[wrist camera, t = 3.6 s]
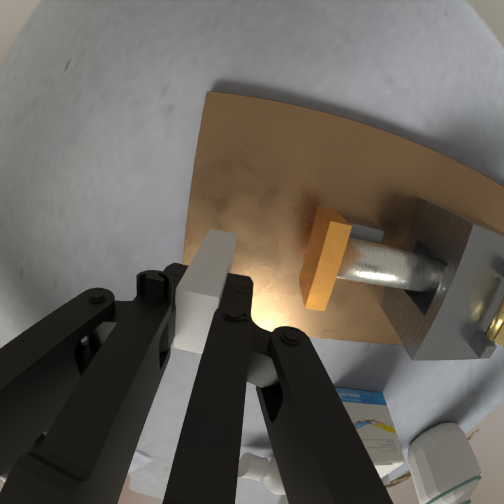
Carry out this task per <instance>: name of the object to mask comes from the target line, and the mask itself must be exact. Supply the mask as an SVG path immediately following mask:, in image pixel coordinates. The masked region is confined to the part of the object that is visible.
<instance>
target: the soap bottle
mask: <svg viewBox="0 0 504 504" xmlns="http://www.w3.org/2000/svg"><path fill="white" fill-rule="evenodd" d="M408 465H409V469H410V472H411V475H412V478H413V481H414V485H415V489H416V492H417V496H418V499H419V503H420V504H469V503H470V502H471V500H470V496H471V494H472V492H473V491H474V490H475V488H476V487H477V485H478V482H479V480H480V479H481V476H480V474H481V469H480V467H479V464H478V462H477V460H476V457H475V455H474V453H473V451H472V448H471V446H470V444H469V442H468V440H467V438H466V436H465V433H464V432H463V431H462V429H461V428H460V427H459V426H458V425H457V424H455V423H441V424H438V425H435V426H433V427H431V428H429V429H428V430H426V431H425V432H423V433H421V434H420V435H419V436H418V437H417V438H416V439H415V440H414V441H413V443H412V444H411V446H410V447H409V449H408Z"/></svg>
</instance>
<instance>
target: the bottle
mask: <svg viewBox="0 0 504 504" xmlns="http://www.w3.org/2000/svg"><path fill="white" fill-rule="evenodd" d="M238 477H242V478H249V479H255V480H256V481H261V480H262V479H263V482H264V486H265V487H266V488H267V489H269V490H270V491H271V492H273V493H274V494H278V495H286V493H285V490H284V487H283V483H282V480H281V477H280V473H279V470H278V466H277V463H276V460H275V457H273V458H272V459H271V460H270V461H268V459H267V458H266V457H264V458H261V457H259V456H256V455H254V454H251V453H249V452H247V453H245V454H243V456H242V457H241V458H240V460H239V467H238ZM381 480H382V482H383V484H384V486H385V484H386V483H387V482H388V481H389V476H388V474H387V475H385V476H384V477H382V478H381Z"/></svg>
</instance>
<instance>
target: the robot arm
mask: <svg viewBox="0 0 504 504" xmlns="http://www.w3.org/2000/svg"><path fill="white" fill-rule="evenodd" d="M237 235H238V234H236V233H230V232H225V231H219V230H214V229H210V231H209V232H208V234H207V236H206V237H205V239H204V241H203V242H202V244H201V246H200V248H199V249H198V251H197V253H196V254H195V256H194V258H193V260H192V261H191V263H190V265H189V266H188V265H183V264H178V263H173V264H171V265H169V266H167V267H166V268H165V269H164V271H163V272H162V271H157V270H148V271H144V272H140V273H139V274H138V275H136V276H137V296H136V297H135V299H134V300H133V301H115V296H114V294H113V293H112V292H111V291H110V290H108V289H104V288H92V289H89V290H86V291H84V292H83V293H81V294H80V295H78V296H77V297H75V298H73V299H72V300H70V301H69V302H67V303H66V304H64V305H63V306H61V307H60V308H58V309H57V310H55V311H54V312H52V313H51V314H49V315H48V316H46V317H45V318H43V319H42V320H40V321H39V322H37V323H36V324H34V325H33V326H31V327H30V328H29V329H27V330H26V331H24V332H23V333H21V334H20V335H19V336H17V337H16V338H14V339H13V340H11V341H10V342H9V343H7V344H6V345H5V346H3V347H2V348H0V481H2V482H3V483H4V486H3V488H2V490H1V492H0V504H117V503H118V500H119V497H120V494H121V491H122V487H123V485H124V482H125V479H126V476H127V473H128V470H129V467H130V464H131V461H132V458H133V455H134V452H135V449H136V447H137V444H138V441H139V438H140V435H141V432H142V430H143V427H144V424H145V421H146V419H147V416H148V413H149V411H150V408H151V405H152V402H153V400H154V397H155V394H156V392H157V389H158V387H159V384H160V381H161V379H162V376H163V374H164V371H165V368H166V366H167V363H168V361H169V358H170V353H171V344H172V342H173V339H174V348H177V349H181V350H186V351H190V352H195V353H200V354H202V357H201V360H200V364H199V367H198V371H197V375H196V378H195V382H194V385H193V389H192V393H191V396H190V400H189V404H188V407H187V411H186V415H185V419H184V422H183V426H182V430H181V434H180V437H179V441H178V445H177V449H176V453H175V457H174V460H173V464H172V468H171V472H170V476H169V480H168V484H167V488H166V492H165V496H164V500H163V503H162V504H235V497H236V487H237V477H238V467H239V457H240V446H241V436H242V426H243V415H244V404H245V393H246V383H247V382H249V383H252V384H254V385H256V391H257V395H258V398H259V402H260V406H261V410H262V413H263V417H264V421H265V424H266V428H267V431H268V435H269V439H270V442H271V446H272V449H273V453H274V456H275V460H276V463H277V466H278V470H279V473H280V477H281V480H282V483H283V487H284V490H285V493H286V497H287V500H288V503H289V504H393V502H392V500H391V498H390V496H389V494H388V492H387V490H386V488H385V486H384V484H383V482H382V480H381V478H380V476H379V474H378V472H377V470H376V468H375V466H374V464H373V462H372V460H371V458H370V456H369V454H368V452H367V450H366V448H365V446H364V444H363V442H362V440H361V438H360V436H359V434H358V432H357V430H356V428H355V426H354V424H353V422H352V420H351V418H350V416H349V414H348V412H347V410H346V408H345V407H344V405H343V403H342V401H341V399H340V397H339V395H338V393H337V391H336V389H335V387H334V385H333V383H332V381H331V379H330V377H329V375H328V373H327V372H326V370H325V368H324V366H323V364H322V362H321V360H320V358H319V356H318V354H317V352H316V350H315V348H314V347H313V345H312V343H311V341H310V339H309V337H308V336H307V335H306V333H304V332H303V331H301V330H300V329H298V328H295V327H291V326H279V327H277V328H275V329H274V330H273V331H272V332H270V331H268V330H265V329H263V328H261V327H259V326H258V325H257V324H256V323H255V322H254V321H253V320H252V317H251V309H252V298H253V287H254V282H253V281H252V279H251V277H250V276H245V275H239V274H234V273H231V270H232V265H233V259H234V253H235V247H236V241H237ZM85 336H86V337H87V340H86V341H85V342H83V343H81V340H82V339H83V338H84V337H85Z"/></svg>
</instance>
